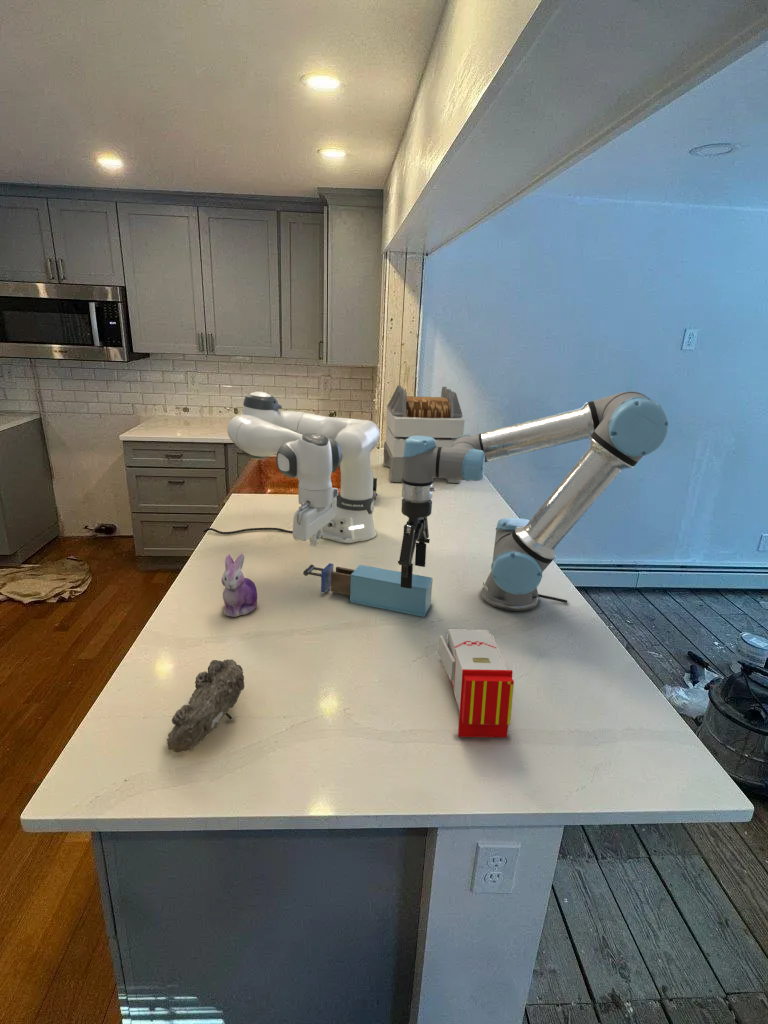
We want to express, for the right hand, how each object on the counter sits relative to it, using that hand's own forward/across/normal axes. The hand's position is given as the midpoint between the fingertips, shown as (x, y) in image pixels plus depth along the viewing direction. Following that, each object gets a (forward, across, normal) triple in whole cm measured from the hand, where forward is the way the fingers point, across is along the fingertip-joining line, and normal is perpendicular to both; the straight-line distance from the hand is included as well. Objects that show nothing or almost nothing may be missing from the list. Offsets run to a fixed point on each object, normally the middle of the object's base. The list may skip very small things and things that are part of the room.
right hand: (413, 576), depth 148 cm
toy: (+10, -30, -21) cm, 37 cm away
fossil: (+9, -55, +24) cm, 61 cm away
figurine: (+9, -18, +41) cm, 46 cm away
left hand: (-5, 0, +28) cm, 28 cm away
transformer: (+9, +128, +32) cm, 132 cm away
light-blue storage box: (+9, 0, +6) cm, 11 cm away
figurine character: (+9, +80, +41) cm, 90 cm away
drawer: (+8, 0, +18) cm, 20 cm away
